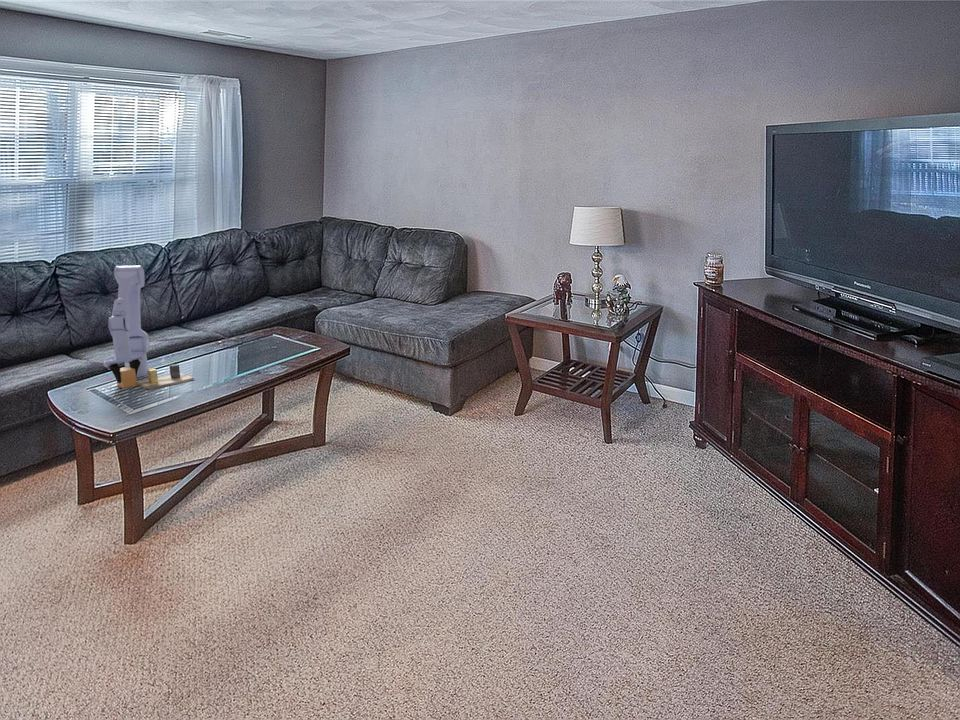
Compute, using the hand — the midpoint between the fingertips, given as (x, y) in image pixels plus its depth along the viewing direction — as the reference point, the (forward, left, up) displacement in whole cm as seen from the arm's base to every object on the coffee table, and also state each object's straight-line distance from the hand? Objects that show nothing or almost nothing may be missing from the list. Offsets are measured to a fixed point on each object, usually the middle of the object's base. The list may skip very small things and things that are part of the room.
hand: (126, 380), depth 285 cm
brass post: (+6, +8, -2) cm, 10 cm away
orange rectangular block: (0, 0, -2) cm, 2 cm away
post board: (+6, +12, -2) cm, 14 cm away
